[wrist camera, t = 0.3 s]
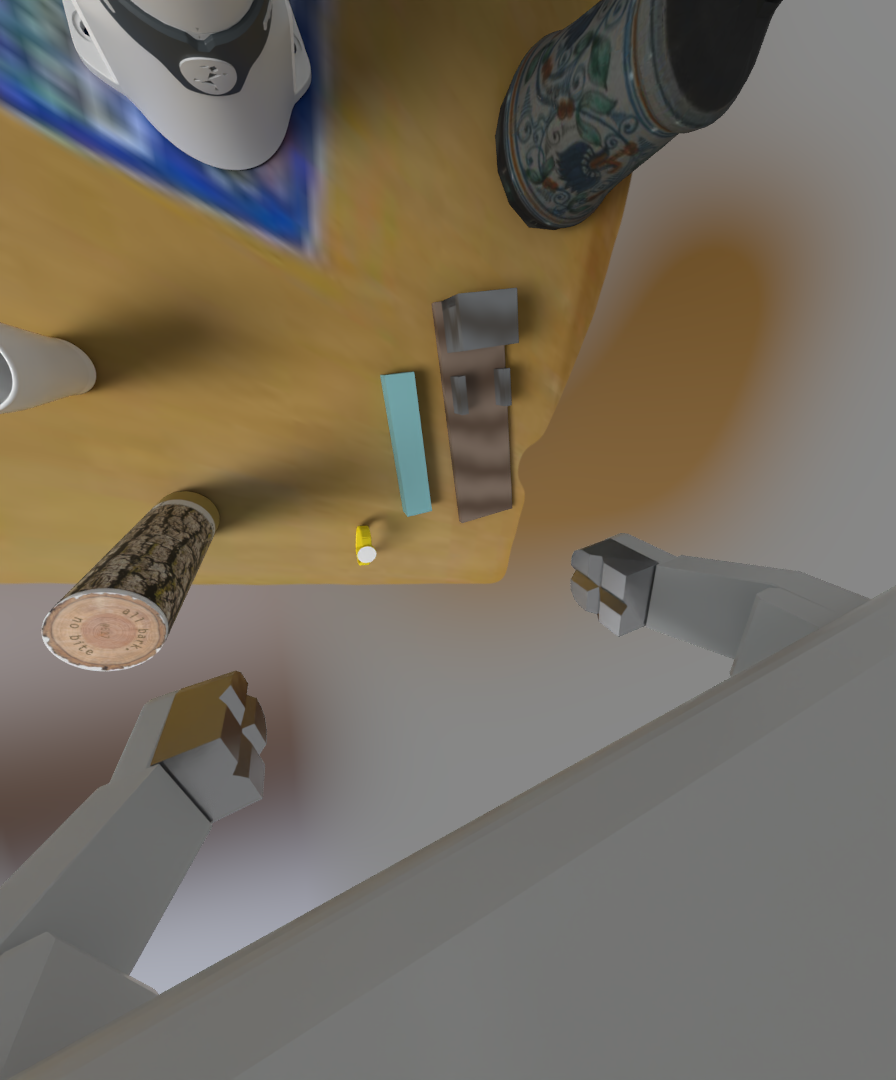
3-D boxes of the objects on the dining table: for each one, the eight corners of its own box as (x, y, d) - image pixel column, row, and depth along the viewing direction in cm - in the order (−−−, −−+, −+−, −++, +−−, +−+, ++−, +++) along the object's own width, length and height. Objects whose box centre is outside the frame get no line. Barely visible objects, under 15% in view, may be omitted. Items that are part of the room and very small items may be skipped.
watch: (368, 553, 58) (375, 572, 54) (350, 554, 57) (356, 574, 53) (370, 519, 56) (377, 537, 51) (352, 520, 55) (358, 537, 50)
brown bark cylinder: (223, 495, 47) (170, 595, 26) (217, 542, 49) (163, 670, 28) (158, 484, 44) (38, 587, 23) (155, 534, 46) (42, 672, 25)
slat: (379, 375, 49) (384, 375, 46) (407, 371, 50) (414, 371, 47) (402, 510, 58) (407, 516, 55) (425, 504, 59) (431, 510, 56)
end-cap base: (431, 303, 47) (450, 294, 42) (498, 296, 50) (523, 286, 44) (459, 521, 62) (475, 535, 57) (509, 506, 65) (529, 518, 59)
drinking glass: (28, 313, 34) (-122, 279, 22) (116, 356, 38) (31, 348, 25) (9, 378, 36) (-144, 382, 23) (96, 414, 39) (5, 434, 27)
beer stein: (477, 202, 45) (644, 52, 24) (521, -23, 38) (806, -508, 17) (576, 255, 52) (772, 175, 31) (628, 72, 45) (922, -188, 24)
